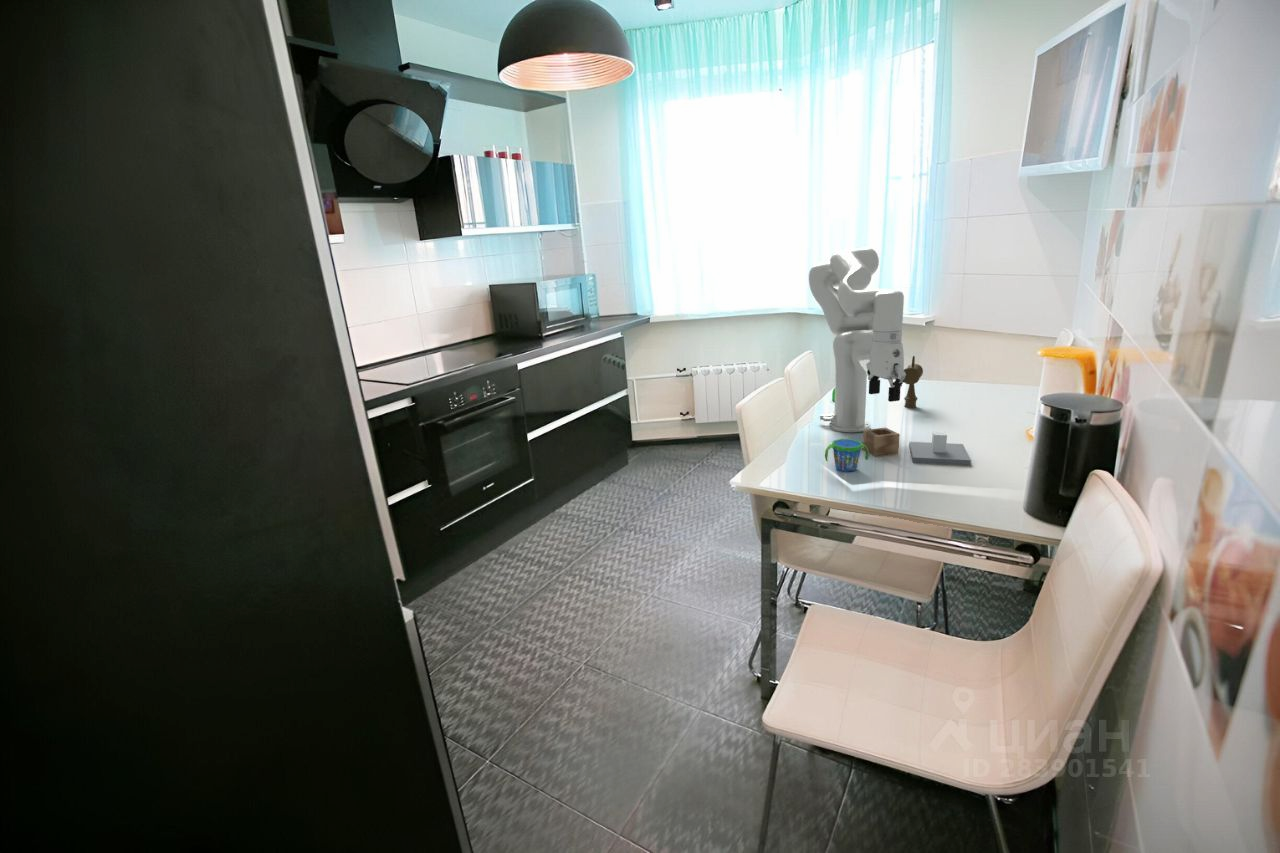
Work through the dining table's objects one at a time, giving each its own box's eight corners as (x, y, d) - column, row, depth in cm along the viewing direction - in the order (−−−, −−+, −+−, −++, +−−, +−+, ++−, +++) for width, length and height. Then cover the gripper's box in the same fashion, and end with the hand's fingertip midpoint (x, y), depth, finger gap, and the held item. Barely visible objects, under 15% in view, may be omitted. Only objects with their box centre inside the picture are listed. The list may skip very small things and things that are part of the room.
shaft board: (912, 462, 159) (914, 439, 157) (908, 446, 171) (910, 425, 169) (970, 465, 154) (972, 442, 152) (962, 448, 166) (964, 427, 165)
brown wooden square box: (875, 456, 165) (876, 436, 163) (862, 449, 172) (863, 430, 170) (898, 453, 166) (899, 434, 164) (884, 446, 173) (885, 427, 171)
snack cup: (865, 463, 160) (866, 438, 158) (871, 473, 153) (872, 447, 151) (822, 464, 162) (822, 439, 160) (826, 474, 155) (827, 447, 153)
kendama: (898, 413, 205) (901, 357, 199) (903, 407, 212) (906, 353, 207) (916, 415, 201) (920, 358, 196) (921, 408, 209) (925, 353, 204)
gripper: (919, 339, 152) (914, 402, 156) (881, 332, 168) (878, 389, 173) (892, 341, 151) (889, 405, 155) (857, 334, 167) (855, 392, 172)
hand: (883, 397), depth 164 cm, fingers open, 9 cm apart
